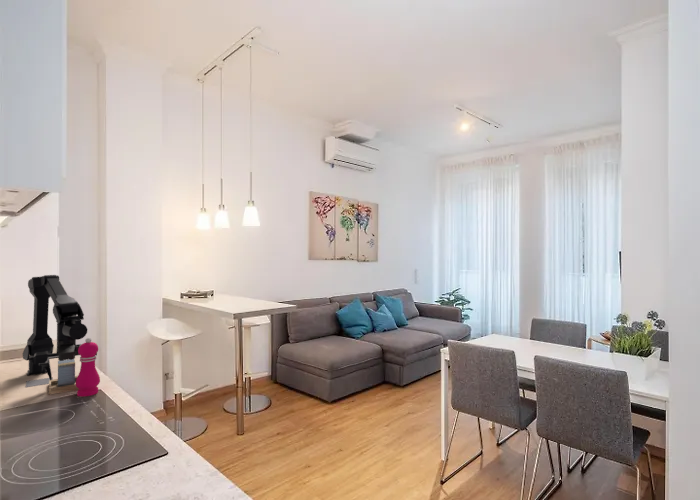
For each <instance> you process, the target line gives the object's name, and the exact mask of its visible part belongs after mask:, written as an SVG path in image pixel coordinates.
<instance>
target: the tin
mask: <svg viewBox="0 0 700 500" xmlns="http://www.w3.org/2000/svg"><path fill="white" fill-rule="evenodd" d="M75 376H76V362H75V358H74V359H72V360H70V359H68V360H64V361H59V360H57V379H58V387H60V386H66V385H72V384H75Z"/></svg>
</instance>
